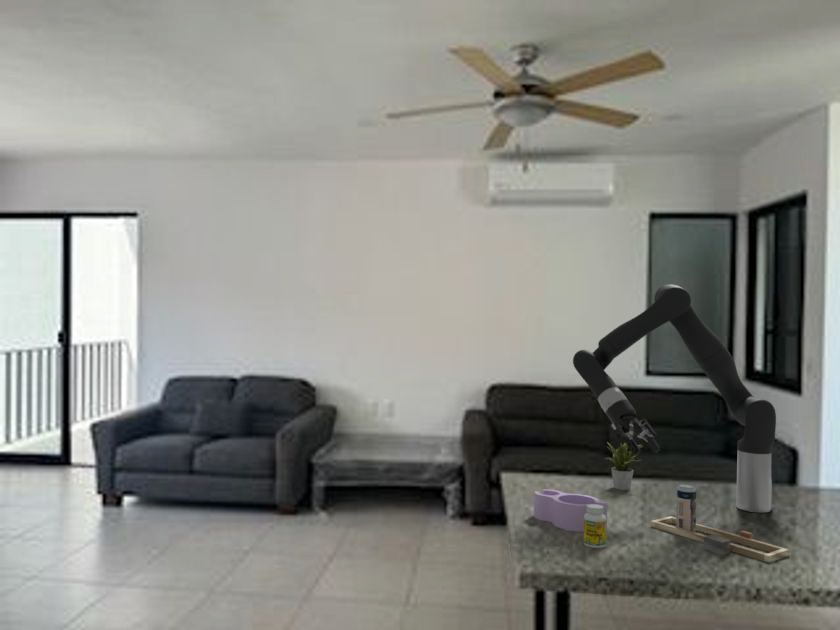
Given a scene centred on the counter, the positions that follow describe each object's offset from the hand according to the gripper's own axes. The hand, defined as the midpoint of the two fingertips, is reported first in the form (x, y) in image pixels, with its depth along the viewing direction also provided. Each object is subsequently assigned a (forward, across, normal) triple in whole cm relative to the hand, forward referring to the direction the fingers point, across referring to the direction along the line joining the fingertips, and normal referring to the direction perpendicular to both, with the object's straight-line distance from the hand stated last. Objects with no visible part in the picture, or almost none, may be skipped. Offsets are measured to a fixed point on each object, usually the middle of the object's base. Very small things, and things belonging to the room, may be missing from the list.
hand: (648, 452), depth 192 cm
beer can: (+22, 0, +5) cm, 23 cm away
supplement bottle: (+19, -30, +8) cm, 36 cm away
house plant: (-6, +24, +32) cm, 41 cm away
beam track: (+28, -1, -1) cm, 28 cm away
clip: (+7, -21, +21) cm, 30 cm away
